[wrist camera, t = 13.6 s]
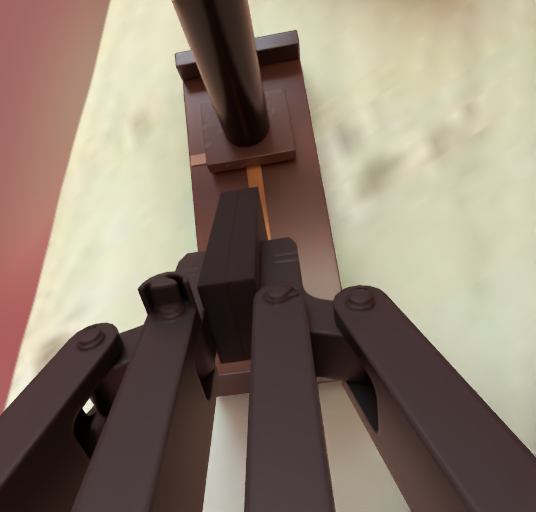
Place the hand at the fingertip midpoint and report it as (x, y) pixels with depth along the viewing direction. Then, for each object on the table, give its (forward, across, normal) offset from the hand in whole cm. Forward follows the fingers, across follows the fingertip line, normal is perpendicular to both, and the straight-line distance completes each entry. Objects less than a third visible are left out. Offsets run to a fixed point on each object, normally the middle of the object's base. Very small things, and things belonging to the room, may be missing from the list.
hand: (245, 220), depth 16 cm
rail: (+12, 0, -5) cm, 13 cm away
